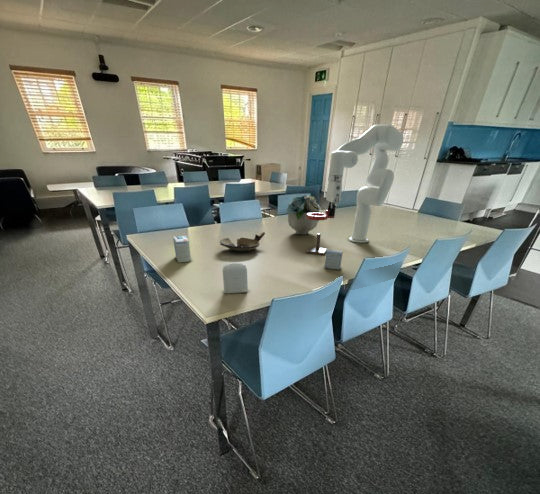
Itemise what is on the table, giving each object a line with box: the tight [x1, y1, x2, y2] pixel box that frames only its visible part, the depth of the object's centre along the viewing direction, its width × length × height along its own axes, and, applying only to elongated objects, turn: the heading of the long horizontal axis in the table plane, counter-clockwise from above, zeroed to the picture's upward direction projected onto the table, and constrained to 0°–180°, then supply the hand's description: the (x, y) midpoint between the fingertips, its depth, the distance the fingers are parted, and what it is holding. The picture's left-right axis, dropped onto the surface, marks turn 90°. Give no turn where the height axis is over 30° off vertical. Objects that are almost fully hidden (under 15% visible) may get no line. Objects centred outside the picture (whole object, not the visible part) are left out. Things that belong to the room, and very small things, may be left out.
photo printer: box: [222, 262, 249, 294], centre depth 130 cm, size 10×4×12 cm, turn 100°
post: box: [306, 232, 328, 256], centre depth 182 cm, size 10×10×10 cm
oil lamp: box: [219, 231, 266, 252], centre depth 183 cm, size 22×30×8 cm
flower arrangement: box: [285, 194, 323, 235], centre depth 214 cm, size 25×25×24 cm
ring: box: [306, 209, 335, 221], centre depth 176 cm, size 16×12×4 cm
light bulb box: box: [172, 235, 192, 263], centre depth 165 cm, size 11×7×11 cm, turn 23°
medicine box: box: [323, 248, 344, 271], centre depth 159 cm, size 8×4×9 cm, turn 71°
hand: (330, 215), depth 178 cm, fingers closed on ring, 2 cm apart
